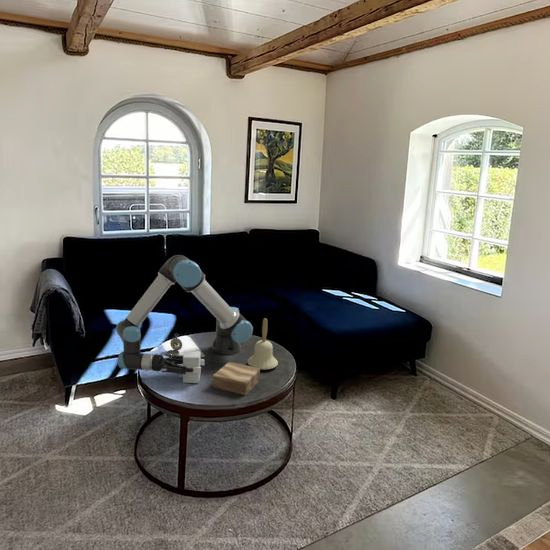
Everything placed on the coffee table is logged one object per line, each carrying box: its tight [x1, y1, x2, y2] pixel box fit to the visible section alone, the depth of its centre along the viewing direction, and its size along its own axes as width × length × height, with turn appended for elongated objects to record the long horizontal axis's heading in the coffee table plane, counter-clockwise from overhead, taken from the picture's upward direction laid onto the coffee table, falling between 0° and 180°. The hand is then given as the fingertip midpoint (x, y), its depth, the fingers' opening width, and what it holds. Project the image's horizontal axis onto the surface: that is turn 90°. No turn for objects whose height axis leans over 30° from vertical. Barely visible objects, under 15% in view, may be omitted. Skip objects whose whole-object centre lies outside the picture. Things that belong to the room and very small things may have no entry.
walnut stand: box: [212, 361, 261, 396], centre depth 225 cm, size 16×16×6 cm
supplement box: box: [182, 350, 202, 384], centre depth 225 cm, size 7×7×13 cm
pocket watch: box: [166, 333, 183, 356], centre depth 253 cm, size 8×8×10 cm
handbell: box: [247, 317, 279, 370], centre depth 244 cm, size 15×15×25 cm
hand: (202, 366), depth 225 cm, fingers closed on supplement box, 8 cm apart
